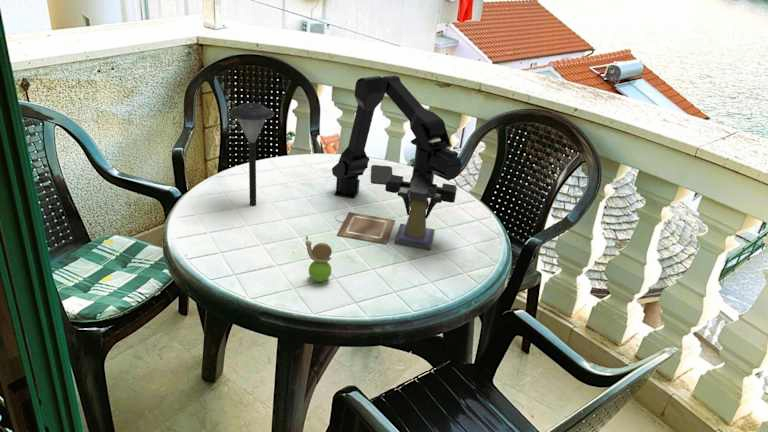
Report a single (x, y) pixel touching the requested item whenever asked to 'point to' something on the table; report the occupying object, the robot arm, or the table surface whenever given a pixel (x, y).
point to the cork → (417, 219)
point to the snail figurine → (319, 261)
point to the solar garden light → (251, 135)
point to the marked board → (366, 228)
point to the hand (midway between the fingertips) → (417, 216)
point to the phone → (380, 174)
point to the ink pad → (414, 239)
